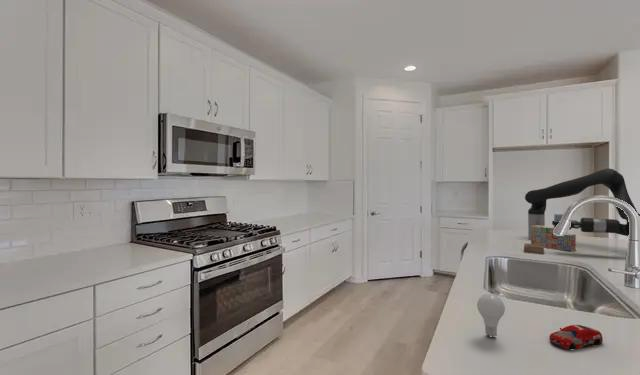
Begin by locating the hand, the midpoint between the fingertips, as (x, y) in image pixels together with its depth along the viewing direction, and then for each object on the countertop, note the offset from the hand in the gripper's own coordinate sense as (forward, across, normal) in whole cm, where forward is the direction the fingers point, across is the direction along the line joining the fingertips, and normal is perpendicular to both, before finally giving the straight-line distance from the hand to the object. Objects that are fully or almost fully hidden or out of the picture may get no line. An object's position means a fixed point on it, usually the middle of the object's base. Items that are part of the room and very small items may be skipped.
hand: (553, 223), depth 177 cm
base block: (+9, 0, +17) cm, 19 cm away
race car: (+12, +116, +15) cm, 118 cm away
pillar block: (-3, 0, +7) cm, 8 cm away
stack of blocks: (-2, -16, +17) cm, 24 cm away
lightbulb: (+30, +121, +15) cm, 126 cm away
